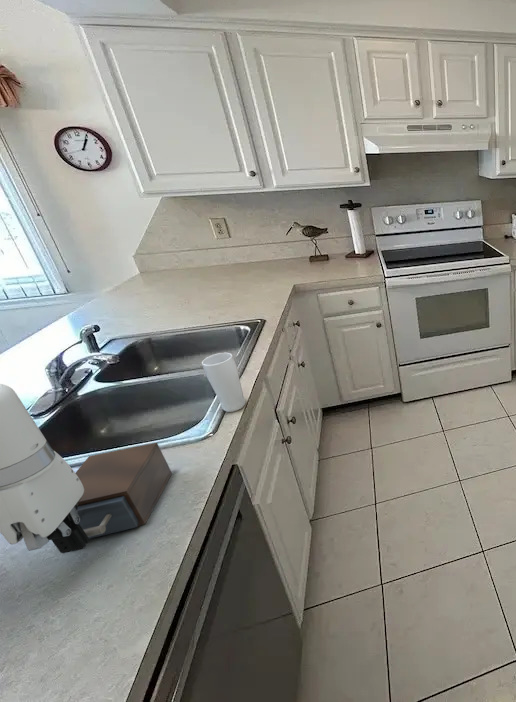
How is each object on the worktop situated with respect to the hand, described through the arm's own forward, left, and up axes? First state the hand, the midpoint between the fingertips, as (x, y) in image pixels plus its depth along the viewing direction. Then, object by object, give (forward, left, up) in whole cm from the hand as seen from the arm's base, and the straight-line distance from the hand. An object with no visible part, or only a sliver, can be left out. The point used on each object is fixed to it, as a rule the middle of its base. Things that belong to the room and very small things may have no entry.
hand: (76, 546), depth 68 cm
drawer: (0, +10, -4) cm, 10 cm away
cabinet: (0, +13, -5) cm, 14 cm away
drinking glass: (+13, +43, -5) cm, 45 cm away
